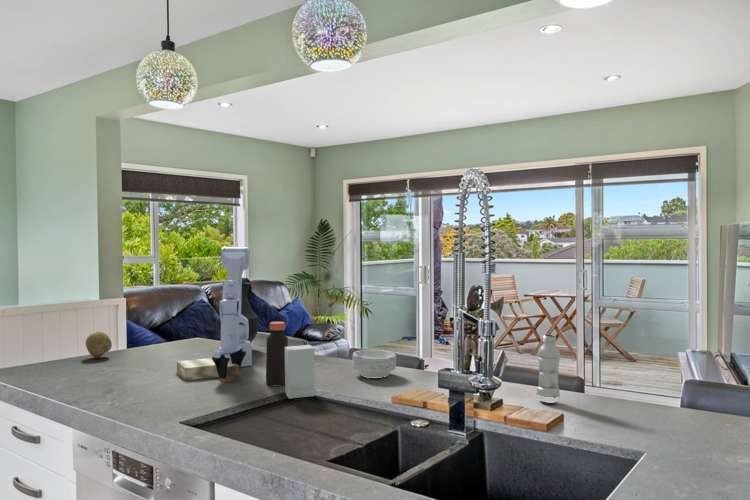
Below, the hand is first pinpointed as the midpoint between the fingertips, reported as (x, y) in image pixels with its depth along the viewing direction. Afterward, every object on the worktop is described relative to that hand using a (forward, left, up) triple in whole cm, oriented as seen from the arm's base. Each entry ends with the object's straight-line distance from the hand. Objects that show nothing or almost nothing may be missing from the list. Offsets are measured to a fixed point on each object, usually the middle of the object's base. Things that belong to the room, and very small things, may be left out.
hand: (229, 375), depth 189 cm
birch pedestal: (+7, -12, -1) cm, 14 cm away
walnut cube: (0, 0, -2) cm, 2 cm away
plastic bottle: (-75, +69, -2) cm, 102 cm away
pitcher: (-19, -49, -2) cm, 53 cm away
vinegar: (-12, +12, -2) cm, 17 cm away
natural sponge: (+34, -56, -2) cm, 65 cm away
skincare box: (-13, +28, -2) cm, 31 cm away
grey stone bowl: (-46, +17, -2) cm, 49 cm away
